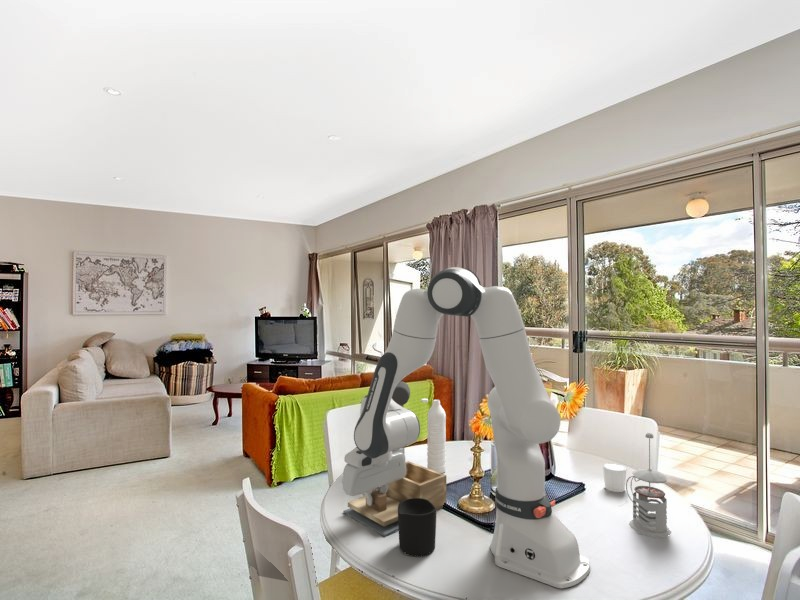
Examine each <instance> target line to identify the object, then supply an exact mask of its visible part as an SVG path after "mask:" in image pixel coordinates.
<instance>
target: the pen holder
mask: <svg viewBox="0 0 800 600" xmlns="http://www.w3.org/2000/svg"><path fill="white" fill-rule="evenodd" d="M437 512H438V510H437V508H435V507H434V505H433V504H432V503H431V502H430V501H428V500H426V499H423V498H410V499H406V500H403V501H401V502H400V503H399V505H398V528H399V531H398V544H399V549H400V550H401V552H403V554H405V555H407V556H409V557H417V558H418V557H419V558H420V557H426V556H429V555H430V554H431V553H433V551H435V547H436V538H437V537H436V535H437Z"/></svg>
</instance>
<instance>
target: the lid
mask: <svg viewBox="0 0 800 600" xmlns="http://www.w3.org/2000/svg"><path fill="white" fill-rule="evenodd" d="M370 494H371V496H372V497H374V498H375V501H374V502H375V504H373V505H371V506H370V505H368V504H367V498H366V496H365V495H363V496H362V497H359V498H356V499H353V500H351V501H348V502H347V507H348V509H349V508H351V509H353V510H355V511H357V512H359V513H360V514H362V515H364V516H366V517H368V518H370V519H371V520H373V521H375V522H377V523H379V524H380V525H382V526H386V525H389V524H391V523H393V522H396V521H398V505H399V502H397V501H395V500H393V499H390V498H388V497H387V495H386V494H384V493H381V492H380V490H377V489H376V488H375V489H372V493H370Z"/></svg>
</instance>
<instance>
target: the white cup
mask: <svg viewBox="0 0 800 600" xmlns="http://www.w3.org/2000/svg"><path fill="white" fill-rule="evenodd" d="M602 469H603V477H604V478H603V479H604V488H605V489H606V490H607V491H609V492H613V493H623V492H625V490H626V481H627V479H626V478H627V467H626V466H625V465H622V464H618V463H614V462H613V463H612V462H611V463H610V462H608V463H604V464H603V465H602Z"/></svg>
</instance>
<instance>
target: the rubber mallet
mask: <svg viewBox="0 0 800 600" xmlns="http://www.w3.org/2000/svg"><path fill="white" fill-rule="evenodd" d="M410 397H411V389H410V386H409V385H408V384H407V383H406V382H405V381H402V380H401V381H400V382H399V383H398V385H397V386H396V388H395V390H394V392H393V395H392V399H393V401H395V402H396V403H397V404H398V405H400V406H402V407H403V408H405V405H406V404H407V403H408V401H409V399H410ZM403 448H404V449H405V447H403ZM404 456H405V457H406V455H405V453H404Z"/></svg>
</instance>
